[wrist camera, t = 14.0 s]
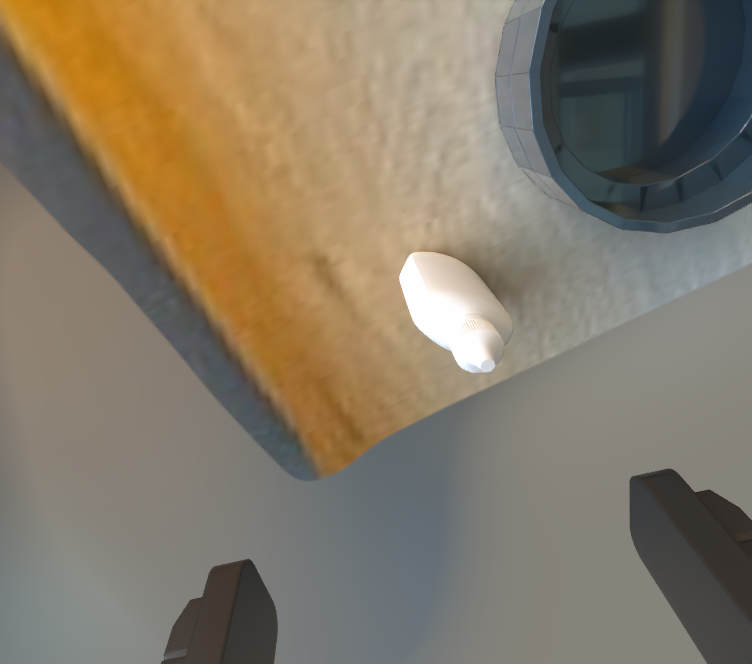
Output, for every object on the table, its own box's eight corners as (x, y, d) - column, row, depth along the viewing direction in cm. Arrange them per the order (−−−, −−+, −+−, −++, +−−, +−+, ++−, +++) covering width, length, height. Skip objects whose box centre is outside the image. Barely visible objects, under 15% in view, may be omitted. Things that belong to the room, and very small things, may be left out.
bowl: (477, -69, 25) (514, -115, 20) (796, -152, 24) (924, -223, 19) (509, 234, 32) (542, 262, 27) (757, 177, 31) (843, 193, 26)
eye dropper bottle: (437, 326, 35) (480, 429, 24) (389, 267, 33) (412, 350, 22) (489, 289, 34) (558, 379, 23) (443, 226, 32) (495, 292, 21)
